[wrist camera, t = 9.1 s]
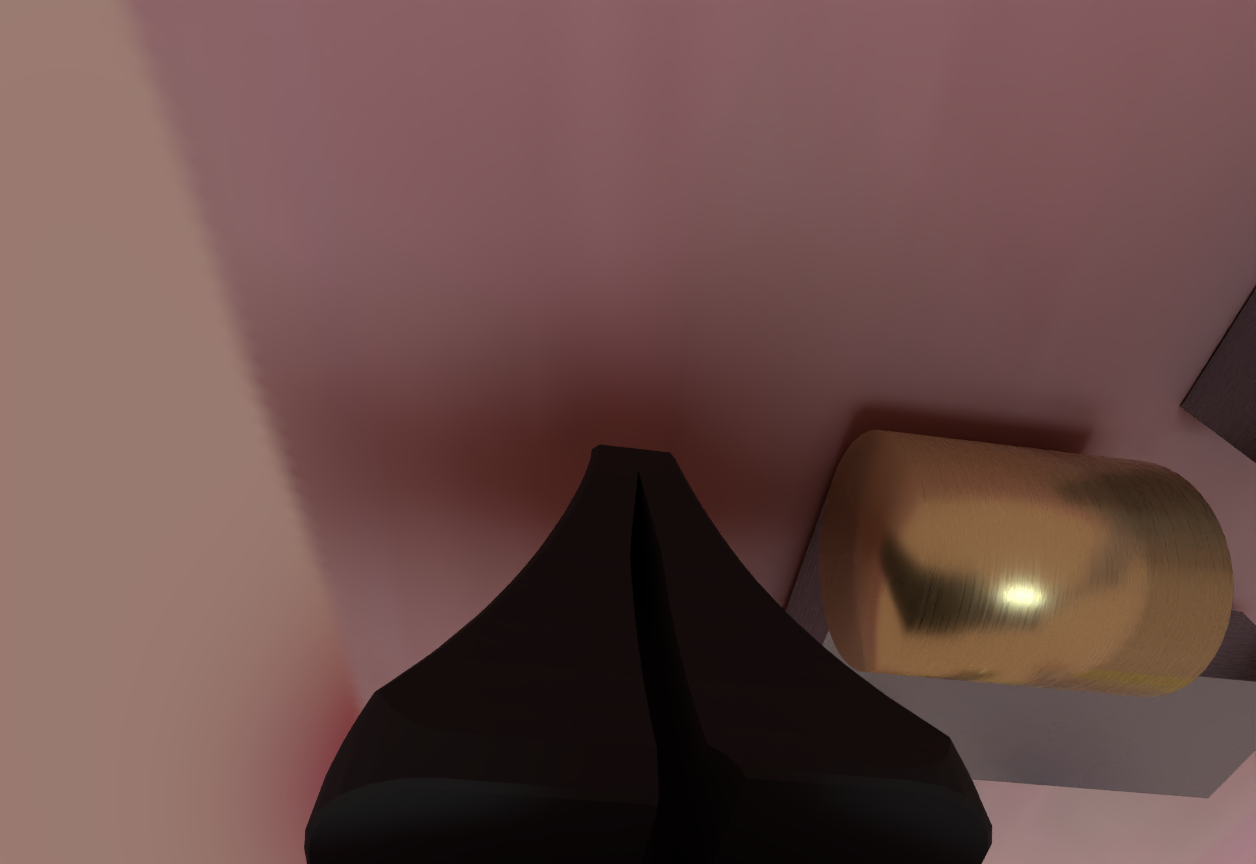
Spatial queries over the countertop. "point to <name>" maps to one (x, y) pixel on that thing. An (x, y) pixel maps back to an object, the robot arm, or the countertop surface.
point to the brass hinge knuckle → (1037, 611)
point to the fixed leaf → (1230, 386)
